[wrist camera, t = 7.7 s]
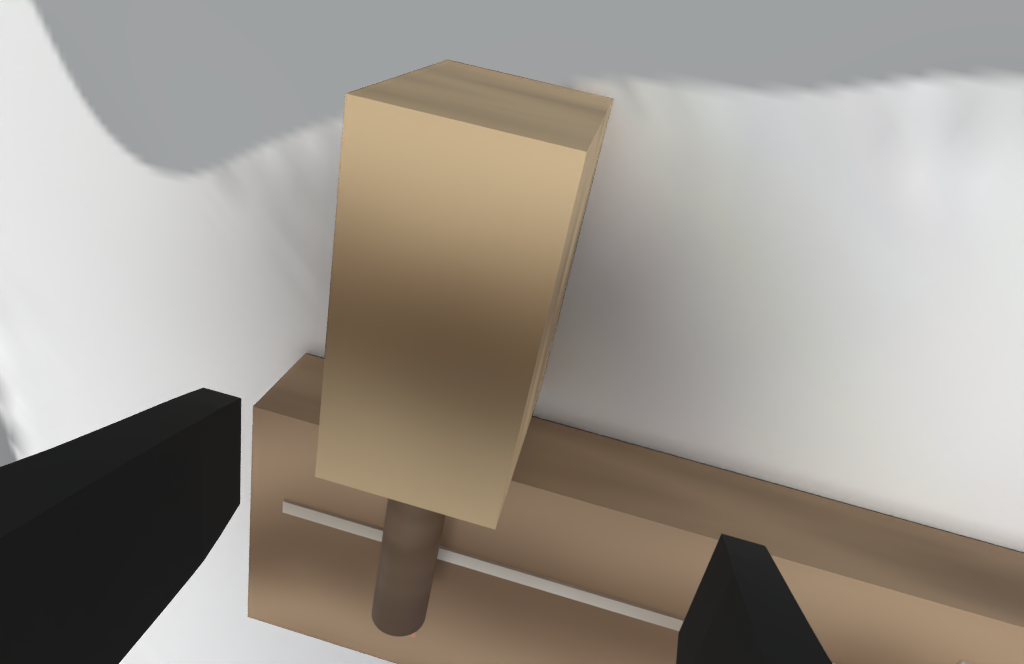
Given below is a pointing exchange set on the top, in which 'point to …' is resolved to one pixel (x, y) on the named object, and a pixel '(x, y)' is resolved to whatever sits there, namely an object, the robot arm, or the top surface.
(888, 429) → the top surface
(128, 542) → the robot arm
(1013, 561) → the walnut plank
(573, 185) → the light wood pillar
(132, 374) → the top surface
